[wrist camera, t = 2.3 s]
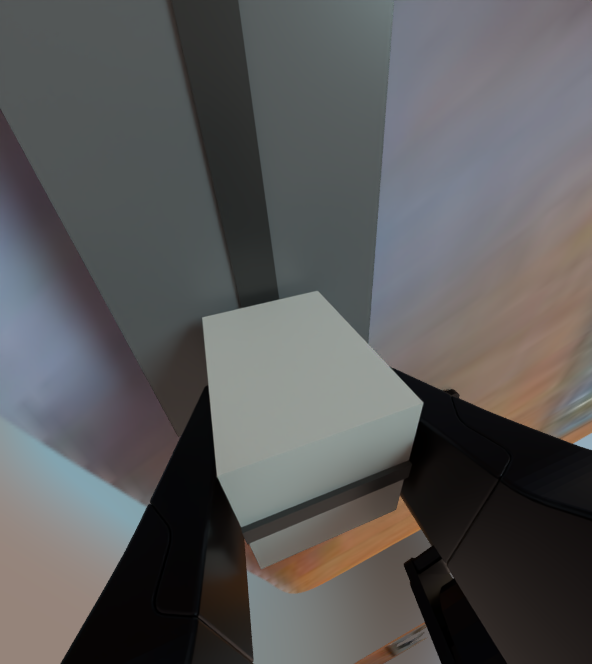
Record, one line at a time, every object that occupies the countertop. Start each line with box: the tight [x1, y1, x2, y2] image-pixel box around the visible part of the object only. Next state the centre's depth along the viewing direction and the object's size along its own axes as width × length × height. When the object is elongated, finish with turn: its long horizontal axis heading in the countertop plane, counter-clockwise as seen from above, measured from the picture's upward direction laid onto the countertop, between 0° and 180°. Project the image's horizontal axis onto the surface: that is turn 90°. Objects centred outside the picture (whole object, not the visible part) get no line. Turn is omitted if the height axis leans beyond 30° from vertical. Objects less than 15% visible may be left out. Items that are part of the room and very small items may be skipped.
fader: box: [202, 291, 423, 569], centre depth 7 cm, size 4×4×5 cm
